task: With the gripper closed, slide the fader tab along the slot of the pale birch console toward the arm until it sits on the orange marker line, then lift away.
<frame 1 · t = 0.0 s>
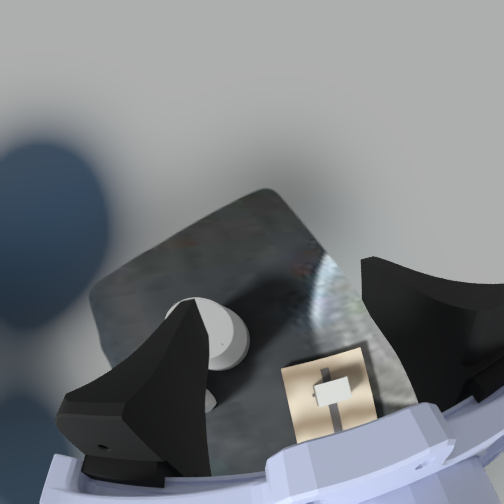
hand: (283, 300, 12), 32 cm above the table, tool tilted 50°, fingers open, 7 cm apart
fader tab: (331, 391, 34), point 4 cm above the table, slide at 0.0 cm
console: (334, 420, 35), on the table
eye dropper bottle: (200, 396, 39), on the table
smart speaker: (222, 342, 43), on the table
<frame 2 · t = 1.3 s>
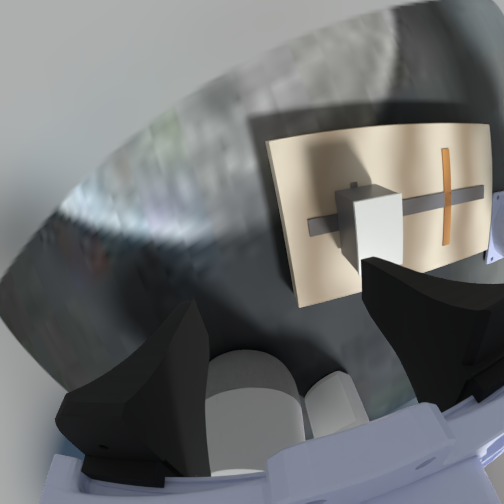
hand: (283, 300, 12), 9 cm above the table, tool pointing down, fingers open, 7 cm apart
fader tab: (369, 226, 17), point 4 cm above the table, slide at 0.0 cm
console: (401, 199, 20), on the table
eye dropper bottle: (325, 385, 28), on the table
smart speaker: (243, 372, 26), on the table
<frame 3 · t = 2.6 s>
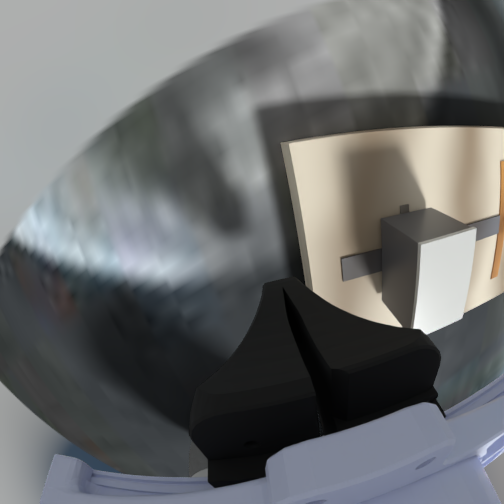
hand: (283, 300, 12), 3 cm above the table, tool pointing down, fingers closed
fader tab: (425, 269, 11), point 4 cm above the table, slide at 0.0 cm
console: (449, 222, 15), on the table
smart speaker: (248, 423, 21), on the table
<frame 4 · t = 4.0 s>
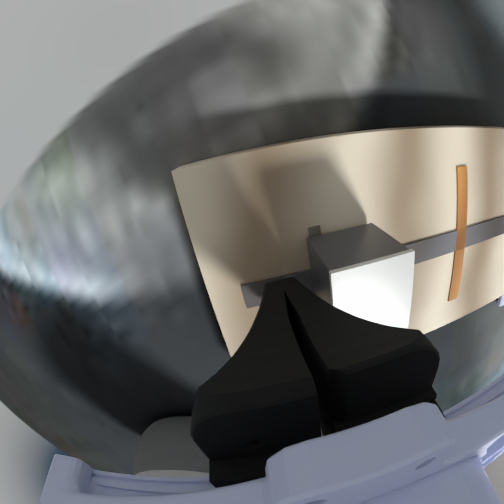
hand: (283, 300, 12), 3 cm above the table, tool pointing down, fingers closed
fader tab: (358, 294, 11), point 4 cm above the table, slide at 1.1 cm, touching gripper
console: (393, 239, 14), on the table
smart speaker: (194, 432, 20), on the table
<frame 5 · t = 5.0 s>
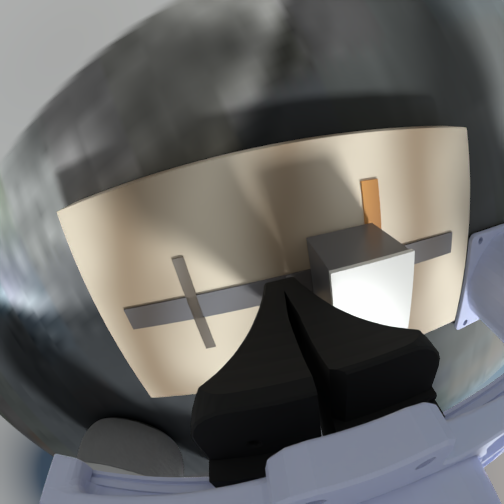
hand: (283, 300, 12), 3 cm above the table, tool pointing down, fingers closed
fader tab: (358, 294, 11), point 4 cm above the table, slide at 6.8 cm, touching gripper
console: (294, 263, 14), on the table
smart speaker: (136, 434, 20), on the table
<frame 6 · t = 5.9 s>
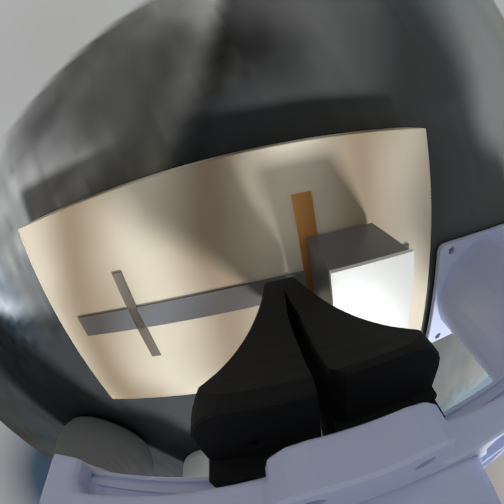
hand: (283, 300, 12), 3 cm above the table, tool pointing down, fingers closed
fader tab: (358, 294, 11), point 4 cm above the table, slide at 9.9 cm, touching gripper
console: (236, 276, 15), on the table
eye dropper bottle: (205, 456, 22), on the table
smart speaker: (111, 432, 20), on the table
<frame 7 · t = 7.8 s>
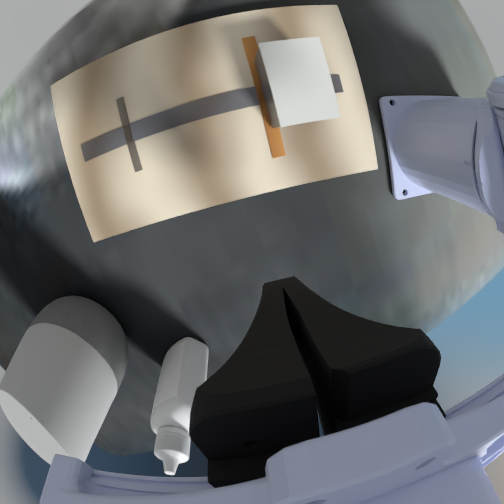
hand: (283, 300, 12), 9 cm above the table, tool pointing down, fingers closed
fader tab: (293, 84, 13), point 4 cm above the table, slide at 9.9 cm
console: (208, 111, 17), on the table
eye dropper bottle: (185, 355, 25), on the table
smart speaker: (91, 327, 23), on the table
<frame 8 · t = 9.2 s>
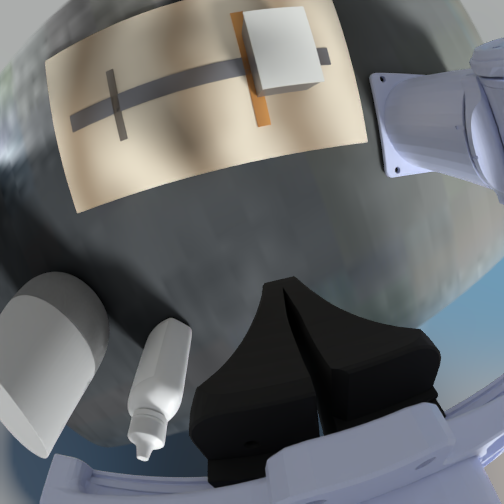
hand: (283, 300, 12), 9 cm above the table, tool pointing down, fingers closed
fader tab: (278, 52, 12), point 4 cm above the table, slide at 9.9 cm
console: (196, 84, 16), on the table
eye dropper bottle: (168, 338, 24), on the table
smart speaker: (74, 306, 22), on the table
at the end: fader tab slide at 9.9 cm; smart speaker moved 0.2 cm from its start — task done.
